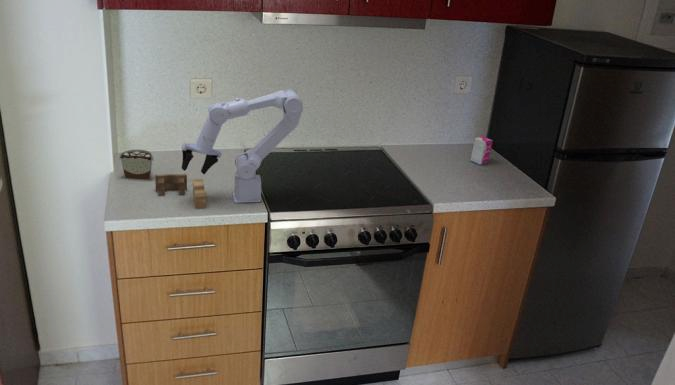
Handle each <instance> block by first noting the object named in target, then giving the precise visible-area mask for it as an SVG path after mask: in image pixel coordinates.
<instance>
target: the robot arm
mask: <svg viewBox="0 0 675 385" xmlns="http://www.w3.org/2000/svg"><path fill="white" fill-rule="evenodd" d="M269 107H275V108H277V109H278V110H282V112H283V113H282V114H283V118H282V119H281V120H280V121H279V122H278V123H277V124H276V125H275V126H274V127H272V129H271V130H270V131H269V132H268V133H267V134H266V135H264V137H263V138H261V139H260V141H259V142H258V143H256V145H254V147H252V148H250V149H248V150H246V151H244V152H243V153H240V154H238V155H237V156H236V157H235V160H234V165H235V166H236V171H235V173H234V192H232V198H233V201H234V203H235V204H238V203H241V204H242V203H243V204H244V203H261V202H262V176H261V175H260V174H256V173H257V170H258V169H259V167H260V166H261V164H262V161H263V160H264V159H265V158H266V157H267V156H268V155H269V154H270V153H271V152H272V151H273V150H274V149H275V148H276V147H277V146H278V145H279V144H280V143H281V142H282V141H283V140H285V139H286V138H287V136H288V135H289V134H291V133H292V132H293V131H294V130H295V129H296V128H297V127H298V125H299V123H300V121H301V120H300V119H301V116H302V113H303V112H304V106H303V100H302V99H301V98H300V97H299V95H298V93H297V91H296V90H294V89H291V88H287V89H285V90H283V89H281V90H277V91H275V92H273V93H270V94H265V95H263V96H259V97H256V98H252V99H250V100H246V99H245V98H240V97H235V100H230V101H227V102H225V101H222V102H221V103H219V102H217V103H213V104H212V105H210V106H209V108H208V115H207V118H206V120H205V122H203V126H202V128H201V130H200V133H199V135H198V138H197V139H196V142H195V143H189V142H188V143H186V142H182V145H181V150H182V151H181V152H182V161H181V162H182V164H181V169H182V171H185V172H186V170H187V169H188V167H189V164H190V162H191V161H192V160H193V158H194V157H195V156H194V154H193V153H198V154H203V155H205V158H204V161H203V164H202V167H201V169H200V172H201V173H202V175H206V173H207V172H208V171H209V170H210V168H212V166H214V165H215V164H217V163H218V162H219V159H221V157H222V155H223V153H222V152H221V150H219V149H214V148H213V147H214V145H215V143H216V140H217V138H218V136H219V134H220V131H221V128H222V126H223V124H225V123H226V122H227V121H228V120H232V119H236V118H239V117H244V116H247V115H248V114H249V113H250V112H251V111H254V110H258V109H259V110H260V109H264V108H269Z"/></svg>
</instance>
